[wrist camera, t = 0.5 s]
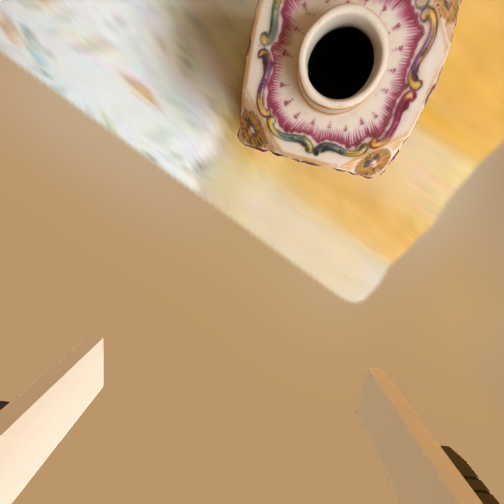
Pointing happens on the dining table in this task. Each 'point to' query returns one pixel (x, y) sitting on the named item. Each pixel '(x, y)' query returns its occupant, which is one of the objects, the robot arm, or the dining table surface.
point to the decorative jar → (342, 78)
